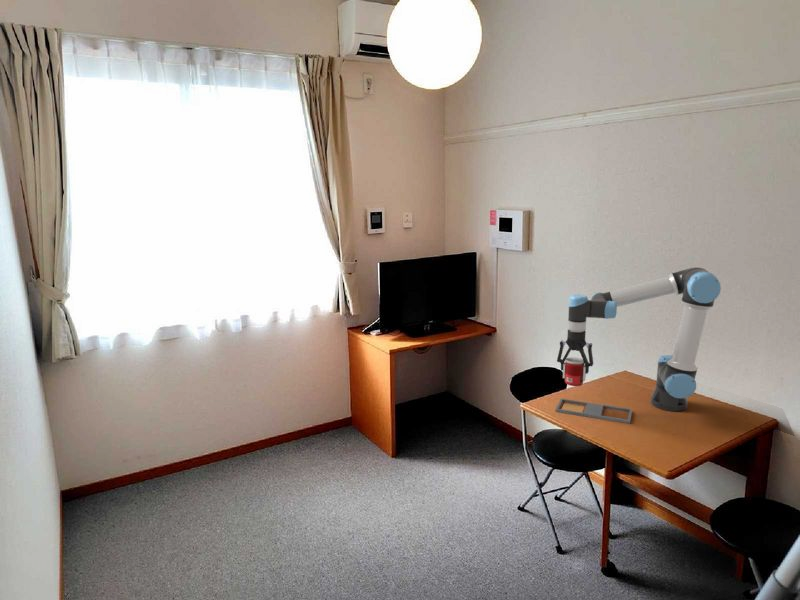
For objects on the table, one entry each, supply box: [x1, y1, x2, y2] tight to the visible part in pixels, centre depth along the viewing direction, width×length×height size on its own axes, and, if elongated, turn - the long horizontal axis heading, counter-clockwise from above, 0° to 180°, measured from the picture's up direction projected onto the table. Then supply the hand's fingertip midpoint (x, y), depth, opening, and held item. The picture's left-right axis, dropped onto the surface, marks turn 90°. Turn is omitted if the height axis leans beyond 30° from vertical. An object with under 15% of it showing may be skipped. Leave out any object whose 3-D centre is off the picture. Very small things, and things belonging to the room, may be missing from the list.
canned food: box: [564, 356, 585, 387], centre depth 245 cm, size 8×8×11 cm
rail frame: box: [555, 398, 633, 425], centre depth 245 cm, size 31×13×1 cm, turn 64°
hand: (574, 378), depth 246 cm, fingers closed on canned food, 8 cm apart
